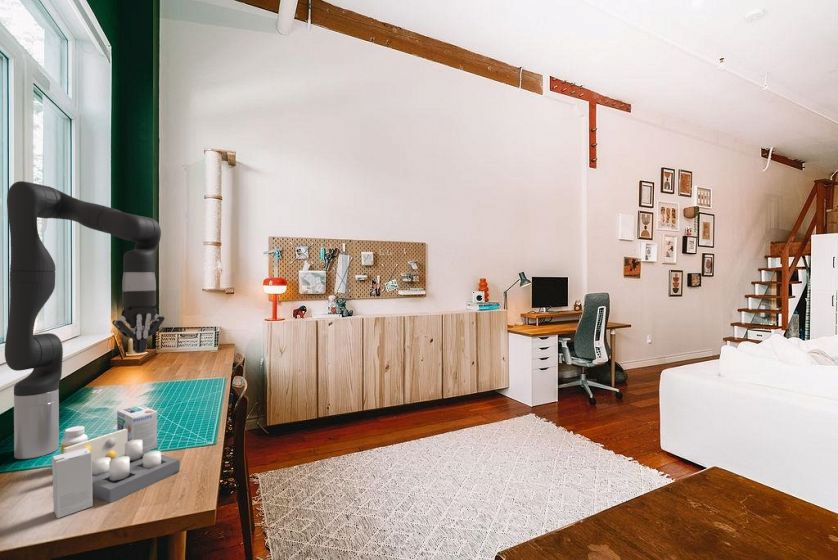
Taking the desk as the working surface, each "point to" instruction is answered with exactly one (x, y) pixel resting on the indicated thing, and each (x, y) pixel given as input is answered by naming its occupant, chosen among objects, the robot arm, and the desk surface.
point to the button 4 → (151, 459)
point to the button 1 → (100, 466)
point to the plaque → (104, 445)
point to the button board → (133, 478)
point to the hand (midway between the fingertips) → (139, 352)
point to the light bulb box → (139, 425)
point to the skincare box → (72, 482)
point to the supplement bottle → (73, 437)
